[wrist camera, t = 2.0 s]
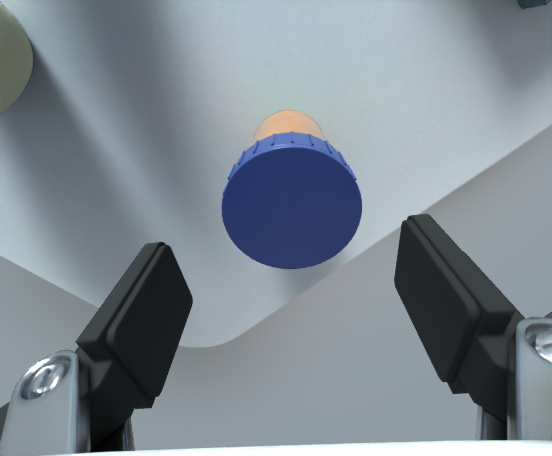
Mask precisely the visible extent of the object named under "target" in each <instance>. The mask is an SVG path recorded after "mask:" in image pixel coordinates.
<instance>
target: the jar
mask: <svg viewBox="0 0 552 456" xmlns="http://www.w3.org/2000/svg"><path fill="white" fill-rule="evenodd" d="M291 131H293V132H296V133H304V134H309V133H310V134H311V135H312V136H315V137H318V138H319V139H321V140H323V141H325V140H326V141H327V139H326V137H325V135H324V133H323V131H322V129H321V127H320V126H319V124H318V123H317V122H316V121H315V120H314V119H313V118H311V117H310V116H309V115H307V114H305V113H302V112H299V111H293V110H286V111H280V112H277V113H274V114H272V115H271V116H269V117H268V118H266V119H265V120H264V121H263V122H262V123H261V124H260V125H259V127H258V128H257V130H256V132H255V134H254V136H253V139H252V142H251V144H250V147H251V146H252V145H254V144H255V143H256V141H257V140H258V141H260V140H262V139H264V138H266V137H269V136H272V135H273V134H274V133H275V134H279V133H287V132H291ZM327 142H328V141H327ZM328 144H329V143H328ZM250 147H249V148H250Z"/></svg>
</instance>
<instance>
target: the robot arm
mask: <svg viewBox="0 0 552 456" xmlns="http://www.w3.org/2000/svg"><path fill="white" fill-rule="evenodd" d="M394 282H395V287H396V289H397V291H398V294H399V296H400V298H401V300H402V302H403V304H404V306H405V308H406V310H407V312H408V314H409V316H410V319H411V321H412V323H413V325H414V327H415V329H416V331H417V333H418V335H419V337H420V339H421V341H422V343H423V345H424V348H425V350H426V352H427V354H428V356H429V358H430V360H431V362H432V364H433V366H434V368H435V370H436V372H437V375H438V376H439V378H440V379H441V381H442V382H447V383H448V385H449V387H450V389H451V391H452V393H453V394H461V393H469V395H470V397H471V398H472V400H473V402H474V403H476V404H477V405H478V409H477V422H476V435H475V441H426V442H425V441H424V442H388V443H351V444H319V445H318V444H317V445H286V446H257V447H256V446H255V447H226V448H196V449H169V450H143V451H135V447H134V439H133V432H132V424H131V415H132V413H133V410H134V408H135V409H144V408H152V405H153V403H154V400H155V397H158V396H159V395H160V393H161V392H162V389H163V386H164V383H165V380H166V378H167V375H168V372H169V369H170V367H171V364H172V361H173V358H174V355H175V352H176V350H177V347H178V344H179V341H180V338H181V335H182V333H183V330H184V327H185V324H186V321H187V319H188V316H189V313H190V310H191V307H192V303H193V299H192V295H191V293H190V290H189V288H188V286H187V283H186V281H185V279H184V277H183V274H182V272H181V270H180V268H179V265H178V263H177V261H176V258H175V256H174V254H173V252H172V249H171V247H170V246H169V245H166V244H165V243H164V242H156V243H147V244H145V245H144V247H143V248H142V249H141V251H140V252H139V254H138V255H137V256H136V258H135V259H134V261H133V262H132V263H131V265H130V266H129V268H128V269H127V270H126V272H125V273H124V275H123V276H122V277H121V279H120V280H119V282H118V283H117V284H116V286H115V287H114V289H113V290H112V291H111V293H110V294H109V296H108V297H107V298H106V300H105V301H104V303H103V304H102V305H101V307H100V308H99V310H98V311H97V313H96V314H95V315H94V317H93V318H92V319H91V321H90V322H89V324H88V325H87V326H86V328H85V329H84V331H83V332H82V334H81V335H80V336H79V338H78V339H77V341H76V343H77V344H78V345H79V347H78V348H77V349H76V351H75V352H74V351H71V350H61V351H57V352H55V353H52V354H49V355H48V356H46V357H44V358H42V359H41V360H39V361H38V362H37V363H35V364H34V365H33V366H32V367H30V368H29V369H28V370H27V371H26V372H25V373H24V374H23V375H22V377H21V378H20V379H19V381H18V382H17V383H16V385H15V387H14V390H13V392H12V395H11V399H10V402H9V403H7V404H6V405H4V406H3V407H1V408H0V456H552V319H549V318H544V317H530V318H526V319H525V318H524V317H523V315H522V314H521V313H520V312H519V311H518V310H517V309H516V308H515V307H514V305H513V304H512V303H511V302H510V301H509V300H508V299H507V298H506V297H505V296H504V295H503V294H502V292H501V291H500V290H499V289H498V288H497V287H496V286H495V285H494V284H493V283H492V281H491V280H489V278H488V277H487V276H486V275H485V274H484V273H483V272H482V271H481V269H480V268H479V267H478V266H477V265H476V264H475V263H474V262H473V261H472V260H471V258H470V257H469V256H468V255H467V254H466V253H464V252H463V251H462V250H461V249H460V248H459V247H458V246H457V245H456V244H455V242H454V241H453V240H452V239H451V238H450V237H449V236H448V235H447V234H446V233H445V231H444V230H443V229H442V228H441V227H440V226H439V225H438V224H437V223H436V221H435V220H434V219H433V218H432V217H431V216H430V215H429V214H421V215H411V216H409V217H408V218H407V220H404V221H403V222H402V225H401V234H400V240H399V248H398V255H397V262H396V270H395V277H394Z"/></svg>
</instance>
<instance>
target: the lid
mask: <svg viewBox="0 0 552 456" xmlns="http://www.w3.org/2000/svg"><path fill="white" fill-rule="evenodd" d="M228 180H229V181H228V183H227V185H226V188H225V190H224V192H223V199H222V218H223V222H224V225H225V228H226V231H227V233H228V235H229V237H230V238H231V240H232V241H233V242H234V244H235V245H236V246H237V247H238V248H239V249H240V250H241V251H242V252H243V253H245V254H246V255H247V256H249V257H250V258H252V259H254V260H255V261H257V262H259V263H262V264H265V265H268V266H271V267H276V268H282V269H299V268H306V267H310V266H314V265H317V264H320V263H322V262H324V261H326V260H328V259H330V258H332V257H333V256H335V255H336V254H338V253H339V252H340V251H341V250H342V249H343V248H344V247H345V246H346V245H347V244H348V243H349V242H350V240H351V239H352V238H353V236H354V234H355V233H356V230H357V228H358V226H359V223H360V219H361V213H362V199H361V194H360V191H359V188H358V185H357V183H356V181H355V180H357V179H356V177H355V176H354V174H353V172H352V170H351V169H350V167H349V165H347V163H346V162H345V160H344V158H343V156H342V155H341V153H340V151H338V152H337V151H336V150H335V149H334V148H333V147H332V146H331V145H329V144H328V142H327V141H326V140H325V141H323V140H321V139H319V138H318V137H315V136H312V135H311V134H310V133H309V134H304V133H296V132H293V131H291V132H287V133H279V134H275V133H274V134H273V135H272V136H269V137H266V138H264V139H262V140H260V141H258V140H257V141H256V143H255V144H254V145H252V146H251V147H250V148H249V149H248V150H247V151H246V152H245V151H244V152H243V153H242V156H241V158H240V159H239V161H238V162H237V164H236V165H235V164H234V166H233V169H232V171H231V173H230V175H229V177H228Z"/></svg>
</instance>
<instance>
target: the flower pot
mask: <svg viewBox="0 0 552 456" xmlns="http://www.w3.org/2000/svg"><path fill="white" fill-rule="evenodd" d="M32 68H33V51H32V47H31V44H30V41H29V39H28V37H27V35H26V33H25V31H24V29H23V28H22V26H21V24H20V23H19V22H18V20H17V19H16V18H15V17H14V16H13V14H12V13H11V12H10V11H9V10H8V9H7V8H6V7H5V6H4V5H3V4H2V3H1V2H0V115H2V114H3V113H4V112H5V111H6V110H8V109H9V108H10V107H11V106H12V105H13V104H14V102H15V101H16V100H17V99H18V98H19V96H20V95H21V93H22V92H23V90H24V89H25V87H26V85H27V83H28V81H29V78H30V76H31V72H32Z"/></svg>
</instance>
